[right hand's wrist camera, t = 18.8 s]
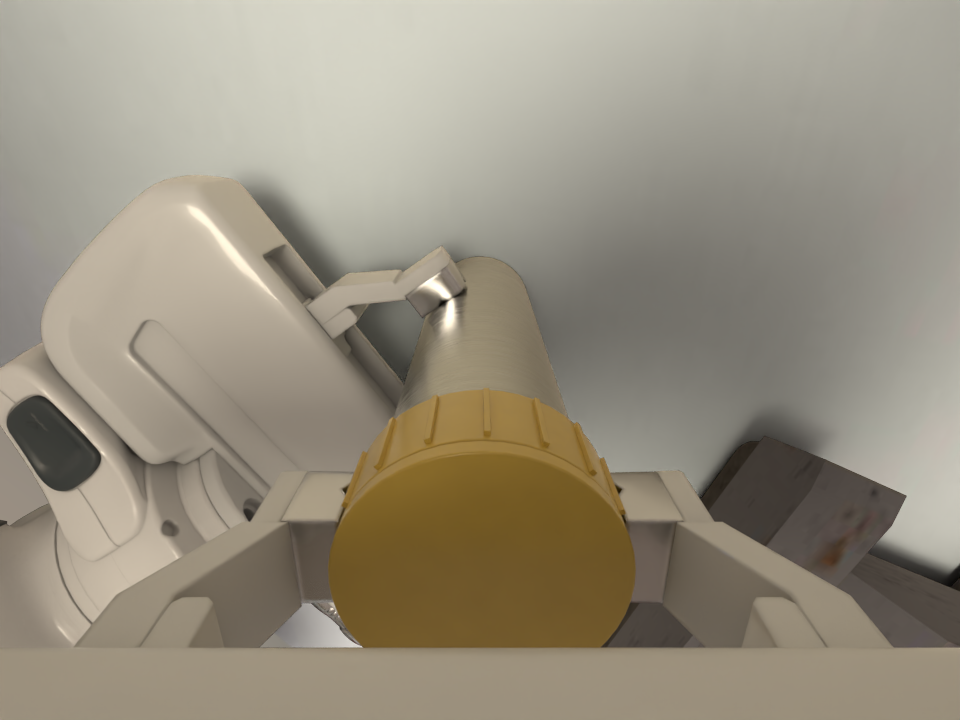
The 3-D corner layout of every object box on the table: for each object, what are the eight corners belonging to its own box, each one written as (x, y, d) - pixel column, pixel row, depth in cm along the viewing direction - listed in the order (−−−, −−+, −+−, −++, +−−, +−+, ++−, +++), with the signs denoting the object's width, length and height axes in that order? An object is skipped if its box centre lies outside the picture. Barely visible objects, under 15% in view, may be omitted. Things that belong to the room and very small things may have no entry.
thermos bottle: (543, 323, 24) (643, 594, 10) (460, 364, 25) (434, 674, 10) (501, 238, 23) (540, 404, 8) (414, 284, 24) (307, 512, 9)
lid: (404, 343, 9) (384, 397, 7) (658, 442, 10) (703, 516, 8) (321, 554, 11) (285, 644, 9) (542, 625, 12) (555, 724, 10)
